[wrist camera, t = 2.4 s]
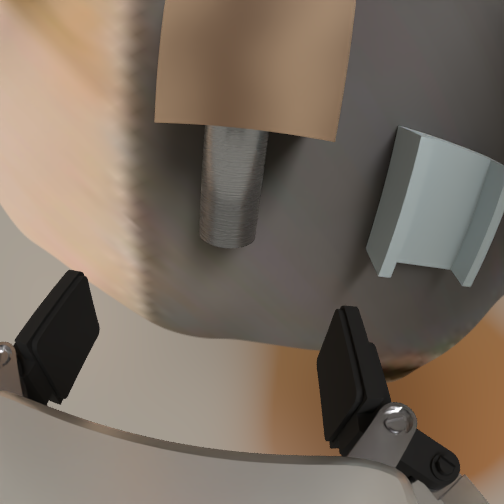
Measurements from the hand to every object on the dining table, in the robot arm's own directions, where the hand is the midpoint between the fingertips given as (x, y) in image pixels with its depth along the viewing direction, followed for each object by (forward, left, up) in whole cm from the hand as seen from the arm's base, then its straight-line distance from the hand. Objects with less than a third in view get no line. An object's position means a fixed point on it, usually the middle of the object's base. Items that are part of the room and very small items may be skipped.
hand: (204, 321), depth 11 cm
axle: (0, -7, -11) cm, 13 cm away
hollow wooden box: (0, -11, -13) cm, 17 cm away
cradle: (-15, -2, -13) cm, 20 cm away
